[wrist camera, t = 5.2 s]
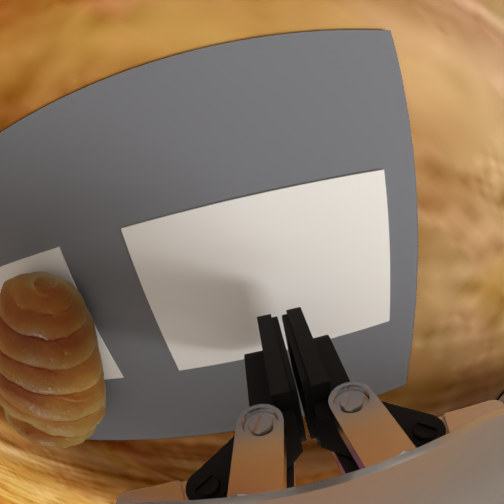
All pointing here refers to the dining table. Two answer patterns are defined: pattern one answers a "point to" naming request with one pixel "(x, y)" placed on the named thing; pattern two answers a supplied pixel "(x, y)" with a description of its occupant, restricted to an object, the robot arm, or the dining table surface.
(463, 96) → the dining table surface
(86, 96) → the label mat
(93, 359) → the pastry
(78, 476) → the dining table surface
